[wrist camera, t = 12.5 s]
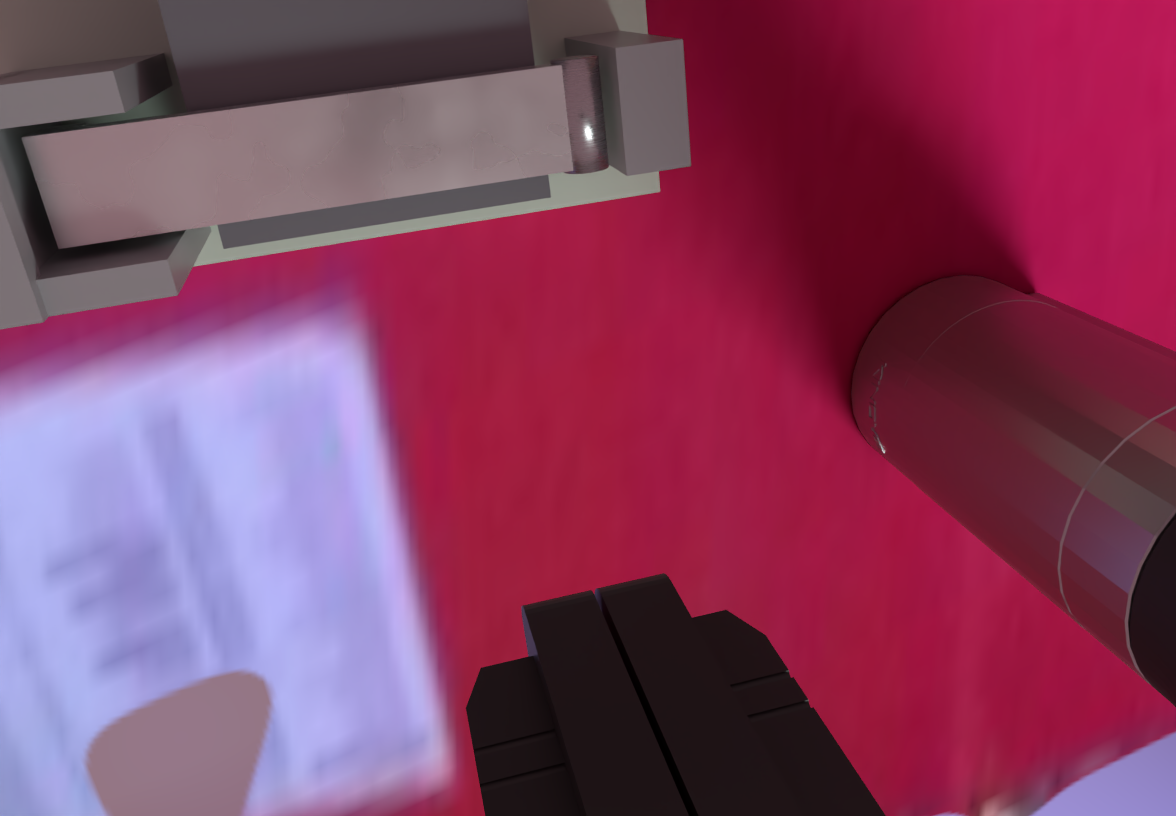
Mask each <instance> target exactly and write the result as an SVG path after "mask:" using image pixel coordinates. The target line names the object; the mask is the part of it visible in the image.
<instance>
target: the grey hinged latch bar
mask: <svg viewBox="0 0 1176 816" xmlns="http://www.w3.org/2000/svg"><path fill="white" fill-rule="evenodd" d="M21 138H22V141H23V144H24V147H25V150H26V153H27V156H28V159H29V162H30V165H31V168H32V171H33V174H34V177H35V180H36V183H37V186H38V189H39V192H40V195H41V198H42V201H43V204H44V207H45V210H46V213H47V216H48V219H49V222H50V225H51V228H52V231H53V234H54V237H55V240H56V243H57V246H58V249H63V248H69V247H76V246H82V245H89V244H95V243H102V242H109V241H115V240H122V239H128V238H135V237H141V236H148V235H154V234H161V233H168V232H174V231H181V230H187V229H194V228H200V227H207V226H214V225H220V224H227V223H233V222H240V221H246V220H253V219H260V218H266V217H273V216H279V215H286V214H292V213H299V212H306V211H312V210H319V209H325V208H332V207H338V206H345V205H352V204H358V203H365V202H371V201H378V200H384V199H391V198H398V197H404V196H411V195H417V194H424V193H430V192H437V191H444V190H450V189H457V188H463V187H470V186H476V185H483V184H490V183H496V182H503V181H509V180H516V179H522V178H529V177H536V176H542V175H549V174H555V173H562V172H564V173H566V174H586V173H593V172H598V171H602V170H605V169H607V168H608V167H609V162H608V151H607V141H606V131H605V121H604V110H603V100H602V90H601V80H600V69H599V59H598V55H579V56H570V57H563V58H557V59H553V60H550V63H549V64H541V65H534V66H527V67H519V68H512V69H504V70H497V71H489V72H482V73H474V74H467V75H459V76H452V77H444V78H437V79H429V80H422V81H415V82H407V83H400V84H392V85H385V86H377V87H370V88H362V89H355V90H347V91H340V92H332V93H325V94H317V95H310V96H302V97H295V98H288V99H280V100H273V101H265V102H258V103H250V104H243V105H235V106H228V107H220V108H213V109H205V110H198V111H190V112H183V113H175V114H168V115H161V116H153V117H146V118H138V119H131V120H123V121H116V122H108V123H101V124H93V125H88V123H87V122H84V123H77V124H69V125H62V126H54V127H47V128H41V129H39V130H37V131H35V132H33V133H30V134H28V135H26V136H24V137H21Z"/></svg>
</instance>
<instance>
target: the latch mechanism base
mask: <svg viewBox="0 0 1176 816" xmlns="http://www.w3.org/2000/svg"><path fill="white" fill-rule="evenodd" d="M579 55H598V59H599V69H600V80H601V90H602V100H603V110H604V121H605V131H606V141H607V151H608V162H609V167H608V168H607V169H605V170H602V171H598V172H593V173H586V174H566V173H564V172H562V173H555V174H549V175H542V176H536V177H529V178H522V179H516V180H509V181H503V182H496V183H490V184H483V185H476V186H470V187H463V188H457V189H450V190H444V191H437V192H430V193H424V194H417V195H411V196H404V197H398V198H391V199H384V200H378V201H371V202H365V203H358V204H352V205H345V206H338V207H332V208H325V209H319V210H312V211H306V212H299V213H292V214H286V215H279V216H273V217H266V218H260V219H253V220H246V221H240V222H233V223H227V224H220V225H214V226H207V227H200V228H194V229H187V230H181V231H174V232H168V233H161V234H154V235H148V236H141V237H135V238H128V239H122V240H115V241H109V242H102V243H95V244H89V245H82V246H76V247H69V248H63V249H58V246H57V243H56V240H55V237H54V234H53V231H52V228H51V225H50V222H49V219H48V216H47V213H46V210H45V207H44V204H43V201H42V198H41V195H40V192H39V189H38V186H37V183H36V180H35V177H34V174H33V171H32V168H31V165H30V162H29V159H28V156H27V153H26V150H25V147H24V144H23V141H22V138H21V137H24V136H26V135H28V134H30V133H33V132H35V131H37V130H39V129H41V128H47V127H54V126H62V125H69V124H77V123H84V122H87V123H88V125H93V124H101V123H108V122H116V121H123V120H131V119H138V118H146V117H153V116H161V115H168V114H175V113H183V112H190V111H198V110H205V109H213V108H220V107H228V106H235V105H243V104H250V103H258V102H265V101H273V100H280V99H288V98H295V97H302V96H310V95H317V94H325V93H332V92H340V91H347V90H355V89H362V88H370V87H377V86H385V85H392V84H400V83H407V82H415V81H422V80H429V79H437V78H444V77H452V76H459V75H467V74H474V73H482V72H489V71H497V70H504V69H512V68H519V67H527V66H534V65H541V64H549V63H550V60H553V59H557V58H563V57H570V56H579ZM689 166H691V156H690V141H689V125H688V109H687V94H686V78H685V63H684V47H683V39H679V38H672V37H664V36H657V35H649V34H648V27H647V15H646V2H645V0H0V329H5V328H11V327H17V326H23V325H29V324H35V323H42V322H44V321H45V320H46V319H47V318H48V317H49V316H55V315H61V314H67V313H73V312H79V311H85V310H91V309H97V308H104V307H110V306H116V305H122V304H128V303H134V302H140V301H146V300H152V299H158V298H165V297H171V296H177V295H178V294H179V292H180V290H181V288H182V286H183V285H184V283H185V281H186V279H187V277H188V275H189V273H190V271H191V269H192V267H193V266H199V265H205V264H212V263H218V262H224V261H231V260H237V259H243V258H249V257H256V256H262V255H268V254H274V253H281V252H287V251H293V250H299V249H306V248H312V247H318V246H324V245H331V244H337V243H343V242H349V241H356V240H362V239H368V238H375V237H381V236H387V235H393V234H400V233H406V232H412V231H418V230H425V229H431V228H437V227H443V226H450V225H456V224H462V223H468V222H475V221H481V220H487V219H493V218H500V217H506V216H512V215H519V214H525V213H531V212H537V211H544V210H550V209H556V208H562V207H569V206H575V205H581V204H587V203H594V202H600V201H606V200H612V199H619V198H625V197H631V196H638V195H644V194H650V193H656V192H660V182H659V171H663V170H670V169H676V168H682V167H689Z"/></svg>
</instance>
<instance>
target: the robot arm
mask: <svg viewBox="0 0 1176 816" xmlns="http://www.w3.org/2000/svg"><path fill="white" fill-rule="evenodd" d="M851 397H852V407H853V414H854V417H855V419H856V422H857V425H858V428H859V430H860V432H861V433H862V435H863V436H864V438H865V439H866V441H867V442H868V444H869V445H870V446H872V447H873V448H874V449H875V450H876V451H877V452H878V453H880V454H881V455H882V456H883V457H884V458H885V459H887V460H888V461H889V462H890V463H891V464H892V465H893V466H895V467H896V468H897V469H898V470H899V471H900V472H901V473H903V474H904V475H905V476H906V477H907V478H908V479H910V480H911V481H912V482H913V483H914V484H915V485H916V486H917V487H918V488H919V489H921V490H922V491H923V492H924V493H925V494H926V495H928V496H929V497H930V498H931V499H932V500H933V501H935V502H936V503H937V504H938V505H939V506H941V507H942V508H943V509H944V510H945V511H946V512H948V513H949V514H950V515H951V516H952V517H953V518H955V519H956V520H957V521H958V522H959V523H960V524H962V525H963V526H964V527H965V528H966V529H968V530H969V531H970V532H971V533H972V534H973V535H975V536H976V537H977V538H978V539H979V540H980V541H982V542H983V543H984V544H985V545H986V546H987V547H989V548H990V549H991V550H992V551H993V552H995V553H996V554H997V555H998V556H999V557H1000V558H1002V559H1003V560H1004V561H1005V562H1006V563H1007V564H1009V565H1010V566H1011V567H1012V568H1013V569H1014V570H1016V571H1017V572H1018V573H1019V574H1020V575H1021V576H1023V577H1024V578H1025V579H1026V580H1027V581H1029V582H1030V583H1031V584H1032V585H1033V586H1034V587H1036V588H1037V589H1038V590H1039V591H1040V592H1041V593H1043V594H1044V595H1045V596H1046V597H1047V598H1048V599H1050V600H1051V601H1052V602H1053V603H1054V604H1056V605H1057V606H1058V607H1059V608H1060V609H1061V610H1063V611H1064V612H1065V613H1066V614H1067V615H1068V616H1070V617H1071V618H1072V619H1073V620H1074V621H1075V622H1077V623H1078V624H1079V625H1080V626H1081V627H1083V628H1084V629H1085V630H1087V631H1088V632H1089V633H1090V634H1091V635H1092V636H1094V637H1095V638H1096V639H1097V640H1098V641H1099V642H1101V643H1102V644H1103V645H1104V646H1105V647H1107V648H1108V649H1109V650H1110V651H1111V652H1112V653H1114V654H1115V655H1116V656H1117V657H1118V658H1119V659H1121V660H1122V661H1123V662H1124V663H1125V664H1126V665H1128V666H1129V667H1130V668H1131V669H1132V670H1134V671H1135V672H1136V673H1137V674H1138V675H1139V676H1141V677H1142V678H1143V679H1144V680H1145V681H1146V682H1148V683H1149V684H1151V685H1152V686H1153V687H1154V688H1155V689H1156V690H1157V691H1158V692H1160V693H1161V694H1162V695H1163V696H1164V697H1165V698H1167V699H1168V700H1169V701H1170V702H1171V703H1172V704H1173V705H1174V706H1175V707H1176V352H1175V351H1173V350H1170V349H1168V348H1166V347H1163V346H1161V345H1159V344H1156V343H1154V342H1152V341H1149V340H1147V339H1145V338H1142V337H1140V336H1138V335H1135V334H1133V333H1131V332H1128V331H1126V330H1124V329H1121V328H1119V327H1117V326H1114V325H1112V324H1110V323H1107V322H1105V321H1103V320H1100V319H1098V318H1096V317H1093V316H1091V315H1089V314H1086V313H1084V312H1082V311H1079V310H1077V309H1075V308H1072V307H1070V306H1068V305H1065V304H1063V303H1061V302H1058V301H1056V300H1054V299H1051V298H1049V297H1047V296H1044V295H1042V294H1040V293H1032V294H1025V293H1022V292H1020V291H1018V290H1015V289H1013V288H1011V287H1009V286H1006V285H1004V284H1002V283H999V282H997V281H994V280H991V279H987V278H984V277H981V276H967V275H959V276H953V277H947V278H941V279H938V280H936V281H933V282H931V283H928V284H926V285H923V286H921V287H919V288H917V289H916V290H914V291H913V292H911V293H909V294H908V295H906V296H905V297H903V298H901V299H900V300H899V301H898V302H897V303H896V304H895V305H894V306H893V307H892V308H890V309H889V310H888V311H887V312H886V313H885V314H884V315H883V316H882V318H881V319H880V320H879V322H878V323H877V324H876V325H875V327H874V328H873V329H872V331H871V332H870V334H869V336H868V337H867V339H866V341H865V343H864V345H863V347H862V349H861V351H860V353H859V356H858V359H857V363H856V366H855V369H854V372H853V380H852V390H851ZM522 618H523V625H524V631H525V637H526V643H527V649H528V656H529V657H526V658H521V659H517V660H513V661H509V662H504V663H500V664H496V665H492V666H487V667H483V668H481V669H480V672H479V675H478V677H477V680H476V683H475V685H474V688H473V691H472V693H471V696H470V699H469V701H468V704H467V707H466V711H467V716H468V722H469V727H470V733H471V738H472V744H473V749H474V755H475V761H476V766H477V772H478V777H479V783H480V788H481V794H482V799H483V805H484V811H485V816H885V814H884V813H883V811H882V810H881V808H880V807H879V805H878V804H877V802H876V801H875V799H874V798H873V796H872V795H871V793H870V792H869V790H868V789H867V787H866V786H865V784H864V783H863V781H862V780H861V778H860V777H859V775H858V774H857V772H856V771H855V769H854V767H853V766H852V764H851V763H850V761H849V760H848V758H847V757H846V755H845V754H844V752H843V751H842V749H841V748H840V746H839V745H838V743H837V742H836V740H835V739H834V737H833V736H832V734H831V733H830V731H829V730H828V728H827V727H826V725H825V724H824V722H823V721H822V719H821V718H820V716H819V715H818V713H817V712H816V710H815V709H814V707H813V708H811V707H810V705H809V701H808V698H807V697H806V695H805V694H804V692H803V691H802V689H801V688H800V686H799V685H798V683H797V682H796V680H795V679H794V677H793V678H791V677H790V675H789V670H788V668H787V667H786V665H785V664H784V662H783V661H782V659H781V658H780V656H779V655H778V653H777V652H776V650H775V649H774V647H773V646H772V644H771V643H770V641H769V640H768V638H767V637H766V635H764V634H763V633H761V632H760V631H758V630H757V629H755V628H753V627H752V626H750V625H749V624H747V623H746V622H744V621H743V620H741V619H739V618H738V617H736V616H735V615H733V614H732V613H730V612H729V611H727V610H724V611H719V612H715V613H711V614H707V615H702V616H698V617H694V618H692V617H691V616H690V614H689V612H688V610H687V609H686V607H685V605H684V603H683V601H682V600H681V598H680V596H679V594H678V593H677V591H676V589H675V587H674V586H673V584H672V582H671V580H670V579H669V577H668V576H667V575H666V574H664V573H663V574H659V575H655V576H650V577H646V578H641V579H637V580H633V581H628V582H624V583H619V584H615V585H611V586H606V587H602V588H597V589H596V590H595V595H594V593H593V592H592V591H591V590H590V591H585V592H581V593H577V594H572V595H568V596H563V597H559V598H554V599H550V600H546V601H541V602H537V603H532V604H528V605H524V606H522Z"/></svg>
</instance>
